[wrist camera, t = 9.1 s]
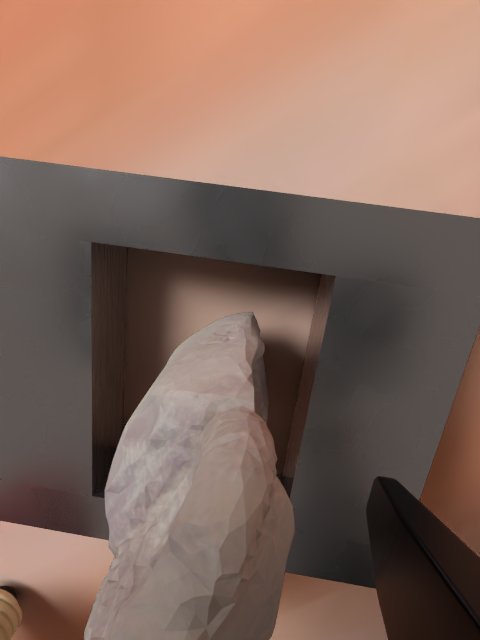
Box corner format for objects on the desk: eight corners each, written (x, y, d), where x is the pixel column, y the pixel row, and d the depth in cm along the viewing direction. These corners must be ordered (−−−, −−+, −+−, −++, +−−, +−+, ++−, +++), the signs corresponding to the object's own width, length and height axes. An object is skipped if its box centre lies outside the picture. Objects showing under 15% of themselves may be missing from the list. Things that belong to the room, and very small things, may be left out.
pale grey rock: (270, 441, 14) (255, 951, 4) (179, 429, 14) (-19, 890, 5) (290, 291, 12) (335, 615, 3) (185, 281, 12) (-117, 541, 3)
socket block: (369, 527, 15) (387, 590, 12) (32, 469, 15) (-12, 518, 13) (463, 218, 11) (515, 223, 9) (11, 160, 12) (-56, 149, 9)
